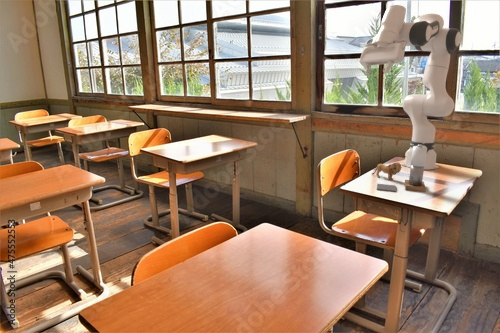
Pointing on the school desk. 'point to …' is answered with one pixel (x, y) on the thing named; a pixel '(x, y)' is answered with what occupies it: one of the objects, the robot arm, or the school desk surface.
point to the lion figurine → (388, 170)
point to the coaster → (386, 187)
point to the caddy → (414, 187)
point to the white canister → (418, 156)
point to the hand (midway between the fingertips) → (376, 73)
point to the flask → (416, 176)
